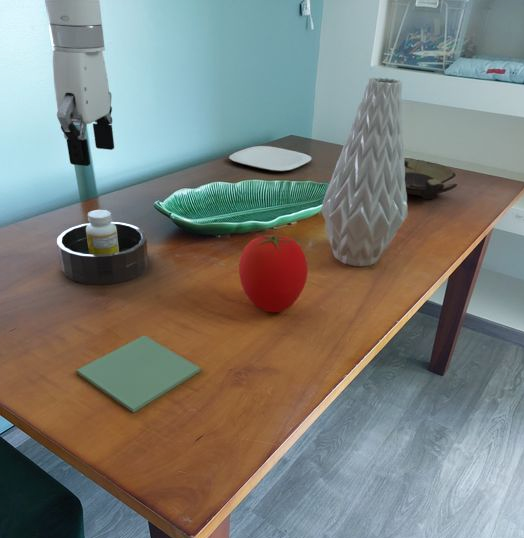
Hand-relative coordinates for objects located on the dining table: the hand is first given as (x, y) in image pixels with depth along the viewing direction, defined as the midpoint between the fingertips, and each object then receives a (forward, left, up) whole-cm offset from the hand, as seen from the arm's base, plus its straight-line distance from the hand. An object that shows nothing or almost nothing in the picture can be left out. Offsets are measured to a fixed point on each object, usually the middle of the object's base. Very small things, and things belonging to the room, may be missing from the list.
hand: (93, 156), depth 89 cm
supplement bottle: (0, 0, -20) cm, 20 cm away
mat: (-17, -30, -20) cm, 40 cm away
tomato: (+10, -32, -20) cm, 39 cm away
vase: (+38, -32, -20) cm, 53 cm away
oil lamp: (+85, -21, -20) cm, 90 cm away
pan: (0, 0, -20) cm, 20 cm away
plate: (+77, +22, -20) cm, 82 cm away
